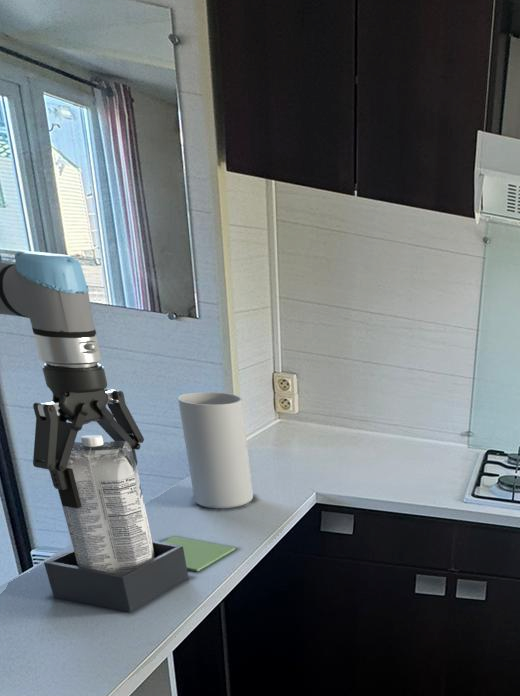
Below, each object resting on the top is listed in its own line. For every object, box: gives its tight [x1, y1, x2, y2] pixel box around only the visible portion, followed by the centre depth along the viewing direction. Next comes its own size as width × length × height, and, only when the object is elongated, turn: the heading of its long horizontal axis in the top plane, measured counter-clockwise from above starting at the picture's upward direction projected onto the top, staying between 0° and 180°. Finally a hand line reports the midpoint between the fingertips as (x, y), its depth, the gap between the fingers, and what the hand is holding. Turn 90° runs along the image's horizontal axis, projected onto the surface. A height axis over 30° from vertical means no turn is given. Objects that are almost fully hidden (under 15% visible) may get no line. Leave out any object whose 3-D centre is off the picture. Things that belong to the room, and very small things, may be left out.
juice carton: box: [56, 434, 154, 575], centre depth 108 cm, size 9×10×27 cm
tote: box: [43, 540, 190, 613], centre depth 113 cm, size 15×14×7 cm
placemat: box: [162, 535, 236, 572], centre depth 128 cm, size 14×11×1 cm
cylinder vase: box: [177, 391, 254, 509], centre depth 149 cm, size 12×12×25 cm
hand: (103, 495), depth 107 cm, fingers closed on juice carton, 11 cm apart
